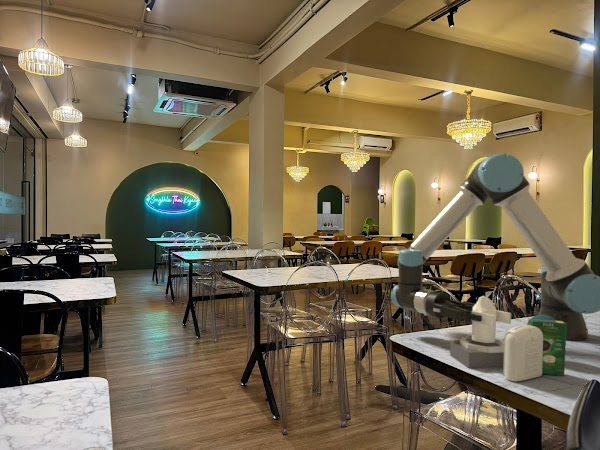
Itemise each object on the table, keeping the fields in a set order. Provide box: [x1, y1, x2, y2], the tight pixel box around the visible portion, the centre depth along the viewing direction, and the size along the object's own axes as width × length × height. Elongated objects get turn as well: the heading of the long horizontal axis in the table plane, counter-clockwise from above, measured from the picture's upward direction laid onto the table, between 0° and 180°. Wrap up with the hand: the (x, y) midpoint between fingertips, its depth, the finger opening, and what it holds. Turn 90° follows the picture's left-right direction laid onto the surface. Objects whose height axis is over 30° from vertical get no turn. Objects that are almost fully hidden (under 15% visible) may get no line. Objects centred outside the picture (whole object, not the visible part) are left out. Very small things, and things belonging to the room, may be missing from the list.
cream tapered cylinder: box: [471, 295, 497, 343], centre depth 113 cm, size 6×12×6 cm
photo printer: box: [503, 324, 543, 382], centre depth 101 cm, size 10×4×12 cm, turn 116°
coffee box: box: [527, 318, 567, 376], centre depth 104 cm, size 8×3×13 cm, turn 80°
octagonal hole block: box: [449, 335, 504, 369], centre depth 113 cm, size 14×11×5 cm
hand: (502, 319), depth 108 cm, fingers closed on cream tapered cylinder, 6 cm apart
